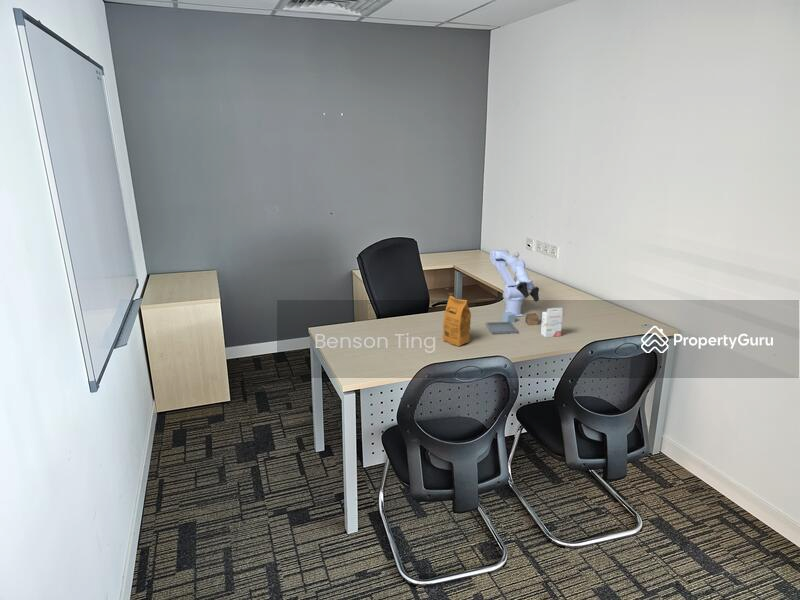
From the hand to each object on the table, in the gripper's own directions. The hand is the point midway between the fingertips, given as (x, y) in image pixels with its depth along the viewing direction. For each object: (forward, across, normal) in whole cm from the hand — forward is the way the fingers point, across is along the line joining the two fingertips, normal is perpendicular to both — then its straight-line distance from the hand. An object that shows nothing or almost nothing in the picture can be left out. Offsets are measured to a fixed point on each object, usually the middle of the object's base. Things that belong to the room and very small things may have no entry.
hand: (532, 298), depth 265 cm
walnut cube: (+4, +10, +12) cm, 16 cm away
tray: (+8, -8, +19) cm, 22 cm away
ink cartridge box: (+19, +7, +3) cm, 21 cm away
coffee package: (+17, -34, +27) cm, 47 cm away
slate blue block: (0, +2, +20) cm, 20 cm away
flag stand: (-26, +25, +26) cm, 44 cm away
